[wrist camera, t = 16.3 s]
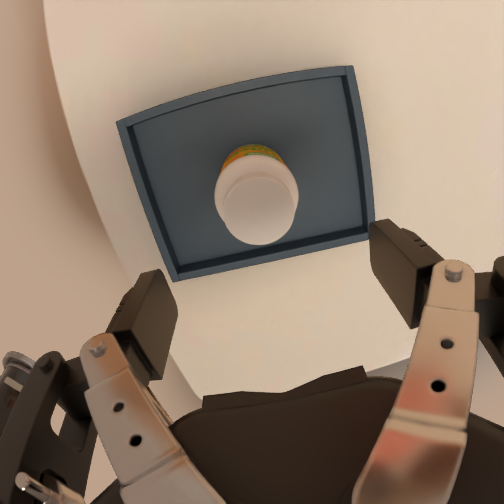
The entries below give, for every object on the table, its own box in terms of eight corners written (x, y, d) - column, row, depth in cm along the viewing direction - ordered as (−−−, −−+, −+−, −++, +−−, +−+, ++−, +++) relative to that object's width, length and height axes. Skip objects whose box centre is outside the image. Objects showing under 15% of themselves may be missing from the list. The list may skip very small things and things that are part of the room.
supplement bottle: (277, 136, 24) (298, 153, 15) (290, 196, 26) (315, 245, 17) (214, 152, 24) (197, 178, 15) (230, 210, 26) (224, 265, 18)
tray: (176, 271, 30) (172, 282, 28) (124, 120, 23) (115, 121, 21) (368, 229, 28) (376, 238, 26) (345, 67, 21) (353, 65, 19)
